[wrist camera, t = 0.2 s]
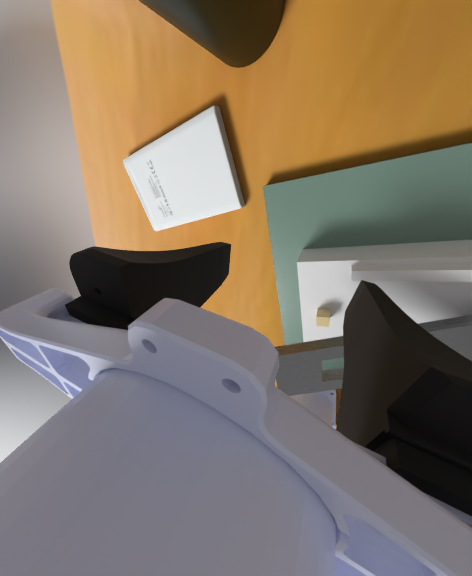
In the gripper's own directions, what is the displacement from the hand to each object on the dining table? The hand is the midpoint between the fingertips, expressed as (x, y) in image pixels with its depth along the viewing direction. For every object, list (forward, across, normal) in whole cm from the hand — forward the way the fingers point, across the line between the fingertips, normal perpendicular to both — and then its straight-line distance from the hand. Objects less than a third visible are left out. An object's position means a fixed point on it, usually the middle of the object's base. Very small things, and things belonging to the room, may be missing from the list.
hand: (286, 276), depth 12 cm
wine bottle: (+10, +8, -13) cm, 19 cm away
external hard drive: (+11, +14, -2) cm, 18 cm away
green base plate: (+10, -8, +4) cm, 14 cm away
